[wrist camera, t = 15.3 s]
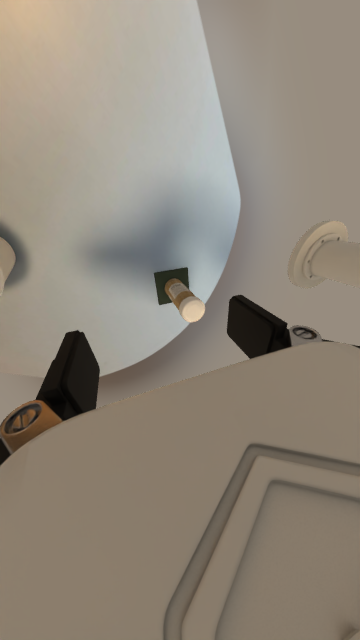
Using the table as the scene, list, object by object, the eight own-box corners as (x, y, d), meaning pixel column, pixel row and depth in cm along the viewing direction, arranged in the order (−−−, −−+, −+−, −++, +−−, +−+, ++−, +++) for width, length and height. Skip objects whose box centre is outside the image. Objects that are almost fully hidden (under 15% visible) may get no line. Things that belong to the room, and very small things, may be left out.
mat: (187, 267, 41) (187, 267, 41) (188, 297, 45) (189, 298, 45) (154, 272, 39) (154, 273, 39) (158, 304, 44) (159, 305, 43)
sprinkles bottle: (165, 297, 43) (183, 325, 32) (163, 279, 40) (181, 303, 29) (183, 293, 44) (206, 319, 33) (181, 276, 41) (205, 297, 30)
